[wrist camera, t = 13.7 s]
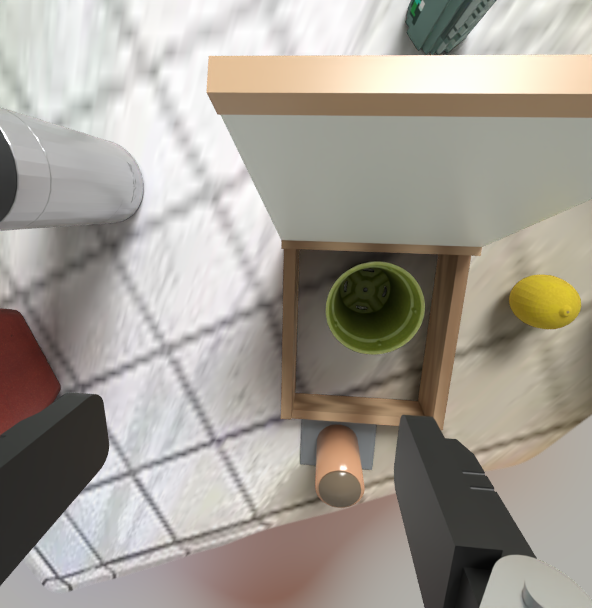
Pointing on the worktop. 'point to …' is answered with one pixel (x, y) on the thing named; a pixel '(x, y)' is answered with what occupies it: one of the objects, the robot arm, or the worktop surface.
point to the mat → (314, 427)
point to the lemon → (545, 301)
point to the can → (443, 22)
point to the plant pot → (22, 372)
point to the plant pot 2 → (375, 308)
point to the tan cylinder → (338, 467)
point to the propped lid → (409, 142)
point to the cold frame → (437, 348)
